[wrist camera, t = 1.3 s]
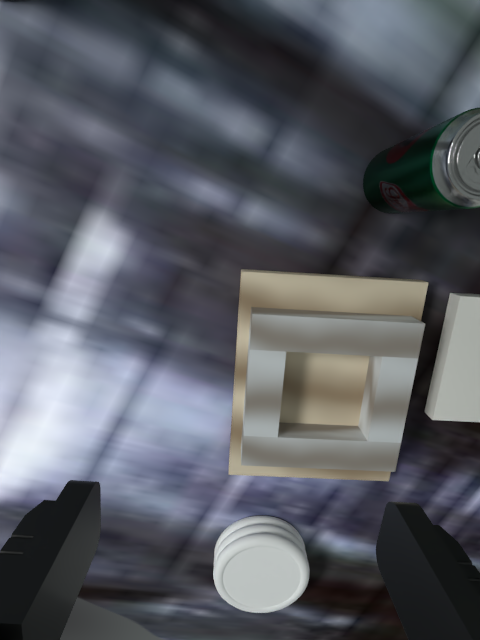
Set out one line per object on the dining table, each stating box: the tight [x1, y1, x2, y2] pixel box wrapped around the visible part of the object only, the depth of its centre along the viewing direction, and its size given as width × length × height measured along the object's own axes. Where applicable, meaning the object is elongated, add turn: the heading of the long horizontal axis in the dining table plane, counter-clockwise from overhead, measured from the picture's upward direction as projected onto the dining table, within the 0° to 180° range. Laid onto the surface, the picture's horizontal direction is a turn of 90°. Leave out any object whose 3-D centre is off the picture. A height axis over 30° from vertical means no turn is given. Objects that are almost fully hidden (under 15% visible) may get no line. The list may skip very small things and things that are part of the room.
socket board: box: [229, 269, 428, 481], centre depth 33 cm, size 20×16×4 cm
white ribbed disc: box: [213, 516, 310, 613], centre depth 38 cm, size 10×10×4 cm
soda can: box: [363, 108, 480, 213], centre depth 24 cm, size 5×5×12 cm
